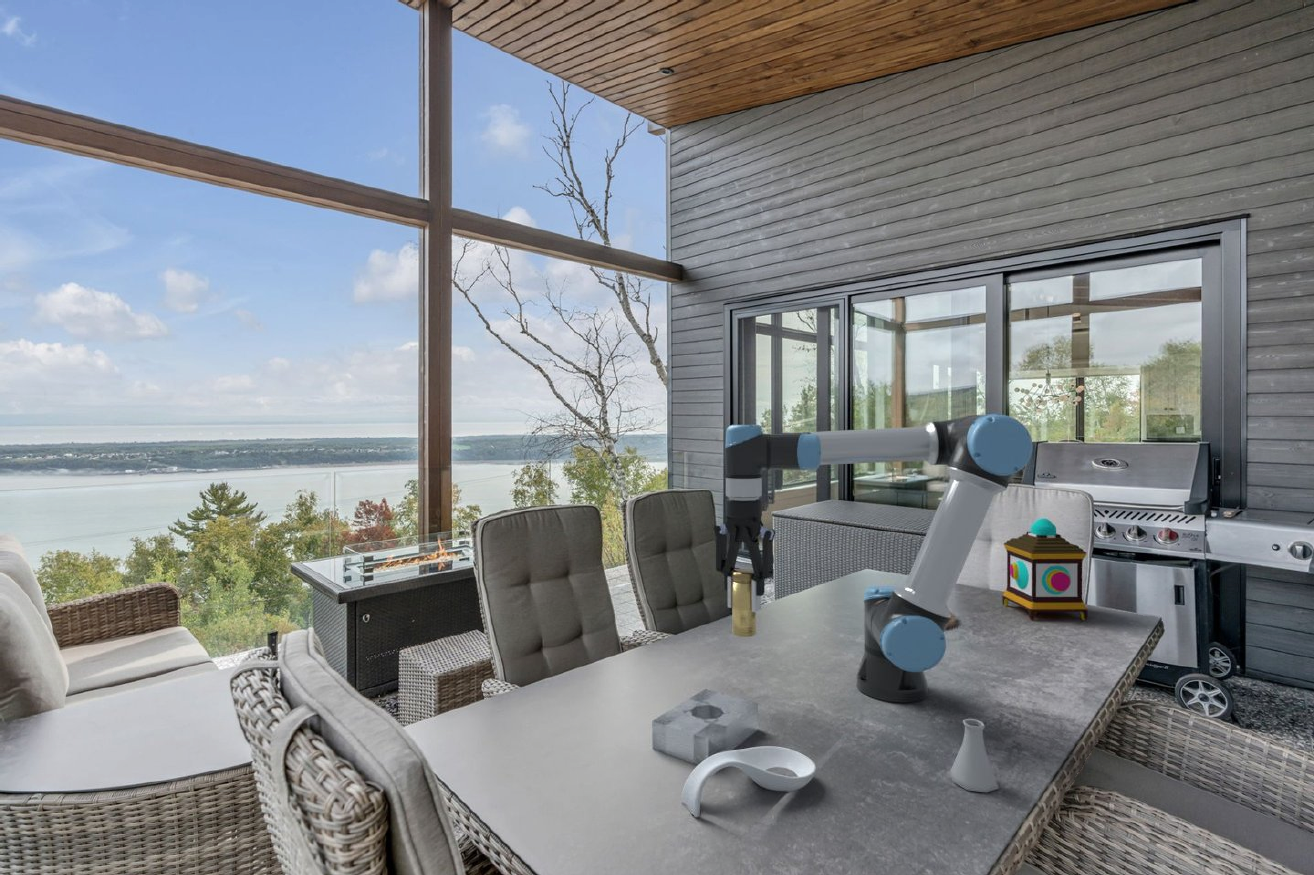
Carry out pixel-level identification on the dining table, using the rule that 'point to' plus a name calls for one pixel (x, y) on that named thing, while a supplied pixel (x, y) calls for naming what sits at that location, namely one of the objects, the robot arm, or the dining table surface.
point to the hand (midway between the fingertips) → (744, 608)
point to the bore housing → (704, 726)
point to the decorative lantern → (1044, 572)
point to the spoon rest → (750, 771)
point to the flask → (973, 761)
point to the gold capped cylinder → (743, 603)
